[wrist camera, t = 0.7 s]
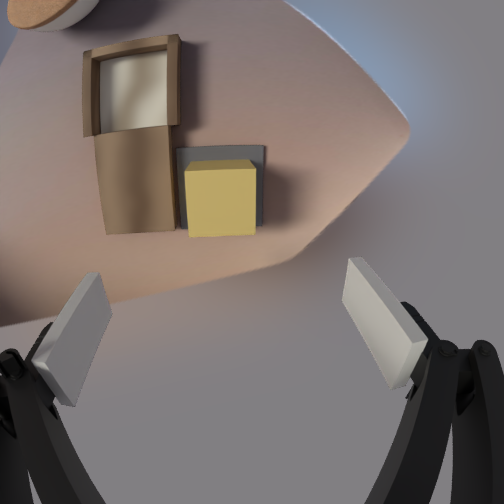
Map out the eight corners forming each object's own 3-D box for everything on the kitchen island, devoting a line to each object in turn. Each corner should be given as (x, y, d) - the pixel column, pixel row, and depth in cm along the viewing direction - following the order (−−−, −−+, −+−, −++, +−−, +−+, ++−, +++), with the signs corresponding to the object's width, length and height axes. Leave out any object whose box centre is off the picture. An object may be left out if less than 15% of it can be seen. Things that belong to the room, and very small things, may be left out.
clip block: (193, 215, 31) (188, 237, 26) (191, 161, 28) (184, 171, 23) (248, 213, 32) (255, 234, 26) (249, 159, 29) (256, 168, 24)
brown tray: (104, 228, 31) (97, 236, 28) (92, 55, 22) (83, 51, 20) (186, 223, 32) (183, 231, 30) (181, 40, 23) (178, 34, 21)
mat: (181, 228, 32) (181, 229, 32) (176, 147, 28) (176, 148, 28) (261, 224, 33) (262, 226, 32) (262, 145, 29) (263, 145, 29)
